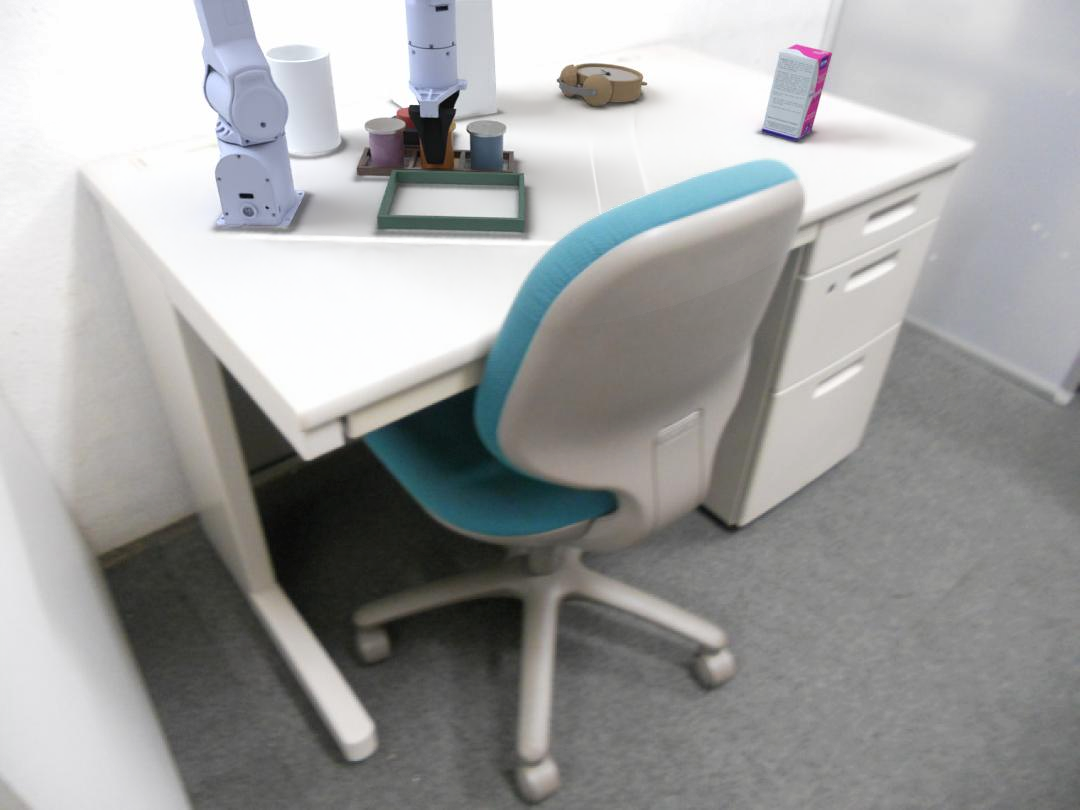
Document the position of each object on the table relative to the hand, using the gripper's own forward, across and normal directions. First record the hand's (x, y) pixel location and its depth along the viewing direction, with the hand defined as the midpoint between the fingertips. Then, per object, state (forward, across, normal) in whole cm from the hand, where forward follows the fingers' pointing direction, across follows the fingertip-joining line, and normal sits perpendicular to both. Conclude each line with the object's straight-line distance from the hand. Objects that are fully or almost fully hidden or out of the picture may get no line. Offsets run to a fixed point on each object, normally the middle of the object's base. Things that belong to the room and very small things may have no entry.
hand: (437, 155), depth 105 cm
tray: (+2, -12, -3) cm, 12 cm away
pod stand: (+2, 0, 0) cm, 2 cm away
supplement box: (+2, +18, -50) cm, 53 cm away
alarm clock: (+2, +32, -23) cm, 39 cm away
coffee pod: (+1, 0, 0) cm, 1 cm away
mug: (+2, +8, +19) cm, 21 cm away
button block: (+2, +8, +4) cm, 10 cm away
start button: (-1, +9, +4) cm, 9 cm away
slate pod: (+2, 0, -6) cm, 6 cm away
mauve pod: (+2, 0, +6) cm, 6 cm away
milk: (+2, +24, +1) cm, 25 cm away
